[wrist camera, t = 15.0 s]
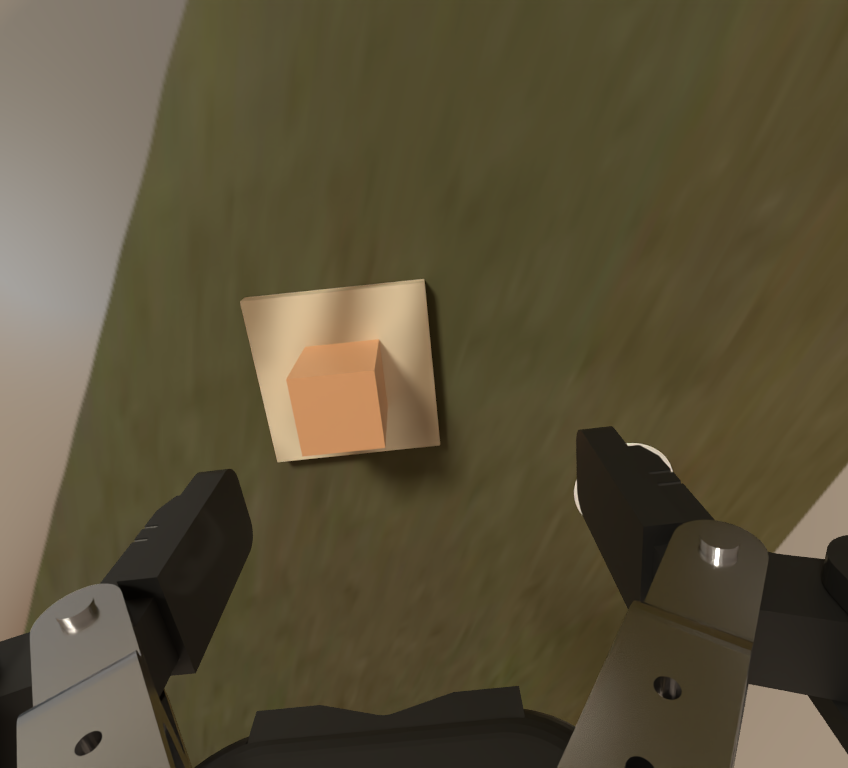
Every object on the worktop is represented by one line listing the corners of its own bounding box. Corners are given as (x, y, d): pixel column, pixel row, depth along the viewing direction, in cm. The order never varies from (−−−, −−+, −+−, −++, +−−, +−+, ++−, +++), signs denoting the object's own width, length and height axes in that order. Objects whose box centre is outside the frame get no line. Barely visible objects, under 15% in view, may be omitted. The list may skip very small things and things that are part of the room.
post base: (423, 278, 34) (427, 295, 30) (439, 437, 39) (444, 474, 34) (245, 297, 34) (219, 317, 30) (281, 454, 39) (263, 493, 34)
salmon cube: (378, 339, 35) (374, 370, 29) (387, 406, 36) (385, 448, 31) (305, 346, 35) (286, 379, 29) (317, 413, 36) (302, 456, 31)
